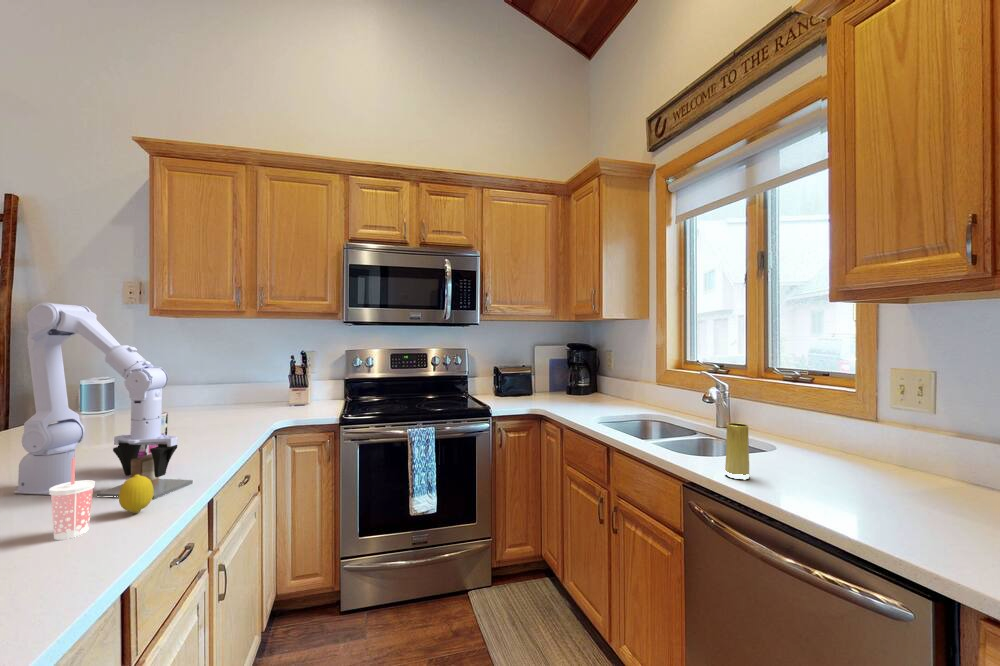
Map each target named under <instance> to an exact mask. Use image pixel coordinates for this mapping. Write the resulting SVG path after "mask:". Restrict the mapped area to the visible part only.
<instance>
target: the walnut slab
mask: <svg viewBox="0 0 1000 666" xmlns="http://www.w3.org/2000/svg"><path fill="white" fill-rule="evenodd" d="M137 474H139V475H140V476H145V477H147V478H148V479H150V480H151V482H152V485H155V484H158V482H159V479H160V477H155V474H154V460H153V457H152V454H148V455H145V456H142V457H138V458H135V459H132V460H131V475H130V478H132V477H134V476H135V475H137Z"/></svg>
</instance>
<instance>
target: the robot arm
mask: <svg viewBox="0 0 1000 666" xmlns="http://www.w3.org/2000/svg"><path fill="white" fill-rule="evenodd" d="M97 318H98V315H97V314H96V313H95V312H93V311H92V310H91V309H90V308H89V307H88V306H85V305H82V304H76V305H74V304H64V303H63V304H62V303H52V302H45V301H44V302H43V301H42V302H40V303H37V304H36V305H34V306H33V307H32V308H31V309H30V310H29V311H28V312H27V313H26V319H27V328H28V334H27V341H26V342H27V349H28V357H29V364H30V372H31V381H32V382H31V383H32V388H33V389H32V390H33V397H34V405H35V413H34V414H33V415H32V416H31V417H30V418H29V419H27V420H26V421H25V422H24V423H23V428H24V429H23V430H24V431H23V434H22V436H21V446H22V447H23V449H24V450H25V451H26V452H27V454H25V455H24V456H23V457H22V458H21V459H20V461H19V463H18V481H17V482H18V484H17V485H18V486H17V488H18V489H16V490H14V491H13V494H26V495H50V494H49V493H50V492H49V489H50V488H51V487H53V486H56V485H59V484H63V483H67V482H71V458H75V459H76V449H77V448H78V447H79V443H81V442H82V441H83V439H84V438H85V436H86V429H85V426H84V424H83V423H82V422H81V419H80V414H79V413H77V412H76V411H74V410H73V409H71V408H70V407H69V399H68V393H67V385H66V383H67V382H66V377H65V369H64V367H65V366H64V360H63V353H62V352H63V350H62V344H64V342H65V341H66V340H68V339H70V338H71V337H73V336H76V335H77V334H78V335H80V336H82V337H83V338H84V339H86V340H87V341H88V342H90V343H91V344H92V345H93V346H95V347H96V348H97V349H98V350H99V351H101V352H102V353H104V354H105V356H104V357H105V358H104V361H105V363H107V365H109V367H111V369H113V370H115V372H116V373H118V374H119V375H120V376H121V377H122V378H123V379H124V382H123V384H124V386H125V388H126V390H127V391H128V395H129V399H130V400H131V402H130V434H120V435H117V436H116V435H115V436H114V437H113V445H116V447H113V448H112V452H113V453H114V455H116V456H117V458H118V461H120V463H121V464H120V465H121V467H122V469H123V473H124V476H125V477H129V476H131V460H132V459H135V458H138V454H139V450H140V447H141V445H158V447H155V448H151V449H150V452H151V454H152V457H153V460H154V474H155V477H159V478H160V477H162V476H165V475H166V474H167V469H168V465H169V463H170V460H171V458H172V456H173V455H174V453H175V452H176V450H177V448H178V442H179V441H178V439H179V438H178V436H172V435H168V434H167V435H162V434H161V419H162V411H163V389H164V388H166V387H167V386H168V385H167V384H168V383H169V375H168V373H167V371H166V370H165V369H164V368H163V367H161V366H156V365H153V364H152V362H150V361H149V360H148V361H147V360H146V359H145V358H144V357H143V356H142V355H141V354H140V353H139V352H138V349H137V348H136V347H135V346H131V345H127V344H122V345H121V344H120V342H119V341H117V340H116V338H115V337H114V336H112V334H111V333H110V332H109V331H108V330H107V329H106V328H105V327H104V326H103V325H102V324H101V323H100V322H99V320H97ZM55 422H56V423H55ZM165 473H166V474H165ZM50 496H51V495H50Z"/></svg>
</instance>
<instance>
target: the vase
mask: <svg viewBox="0 0 1000 666" xmlns="http://www.w3.org/2000/svg"><path fill="white" fill-rule="evenodd" d="M725 441H726V445H725V446H726V448H725V450H726V451H725V464H724V465H725V470H726V471H727V472H729V473H732V474H743V475H746V474H749V475H750V445H749V442H750V440H749V425H748V424H745V423H742V422H741V423H740V422H727V423H726V440H725ZM725 470H724V471H725Z"/></svg>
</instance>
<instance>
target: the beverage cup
mask: <svg viewBox="0 0 1000 666" xmlns="http://www.w3.org/2000/svg"><path fill="white" fill-rule="evenodd" d="M75 469H76V457H75V458H71V482H67V483H63V484H59V485H56V486H53V487H51V488H50V489H49V492H50V493H49V494H50V497H51V498H50V499H51V512H52V514H51V515H52V529H53V539H54V540H57V541H62V540H64V541H65V540H70V538H71V539H74V537H75V538H77V537H76V536H78V537H80V536H79V535H81V534H83V533H86V532H87V531H88V530H90V519H91V512H92V500H93V491H94V488H95V486H96V485H95V483H96V481H95V480H91V479H90V480H89V479H85V480H82V479H81V480H75V477H76V475H75V473H76V470H75ZM88 532H89V531H88ZM88 532H87V533H88ZM87 533H86V534H87ZM81 536H82V535H81Z"/></svg>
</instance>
